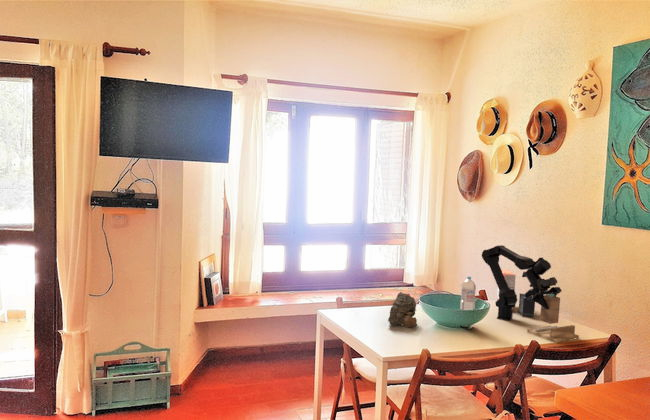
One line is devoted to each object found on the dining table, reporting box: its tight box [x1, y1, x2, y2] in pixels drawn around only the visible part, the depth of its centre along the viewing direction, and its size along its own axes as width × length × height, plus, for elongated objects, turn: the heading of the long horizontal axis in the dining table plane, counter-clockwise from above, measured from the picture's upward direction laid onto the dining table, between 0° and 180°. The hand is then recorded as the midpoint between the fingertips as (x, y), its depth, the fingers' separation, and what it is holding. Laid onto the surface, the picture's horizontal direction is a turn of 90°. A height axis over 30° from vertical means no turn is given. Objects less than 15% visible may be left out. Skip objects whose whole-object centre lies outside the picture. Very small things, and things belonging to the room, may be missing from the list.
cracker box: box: [496, 269, 516, 311], centre depth 265 cm, size 14×6×21 cm, turn 174°
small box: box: [517, 293, 536, 318], centre depth 252 cm, size 11×6×10 cm, turn 168°
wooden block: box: [539, 294, 561, 325], centre depth 217 cm, size 6×6×13 cm
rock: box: [387, 291, 418, 328], centre depth 226 cm, size 18×14×15 cm
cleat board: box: [526, 324, 580, 343], centre depth 217 cm, size 16×16×6 cm
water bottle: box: [459, 276, 477, 329], centre depth 226 cm, size 7×7×25 cm
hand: (552, 308), depth 215 cm, fingers closed on wooden block, 5 cm apart
